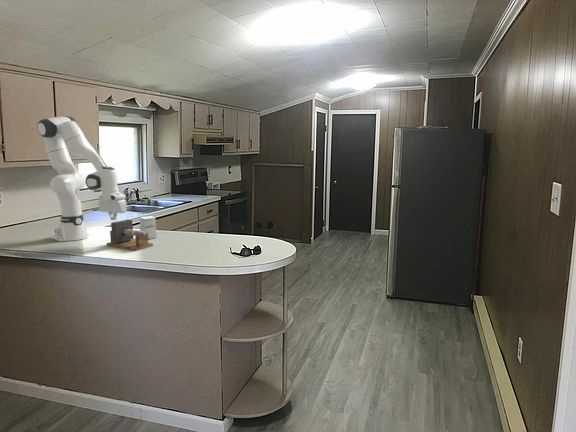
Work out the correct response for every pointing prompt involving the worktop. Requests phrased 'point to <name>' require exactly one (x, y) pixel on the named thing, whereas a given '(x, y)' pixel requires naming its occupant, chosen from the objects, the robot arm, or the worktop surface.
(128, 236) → the grey flat block
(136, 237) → the pipe stand
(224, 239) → the worktop surface
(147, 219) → the supplement box
